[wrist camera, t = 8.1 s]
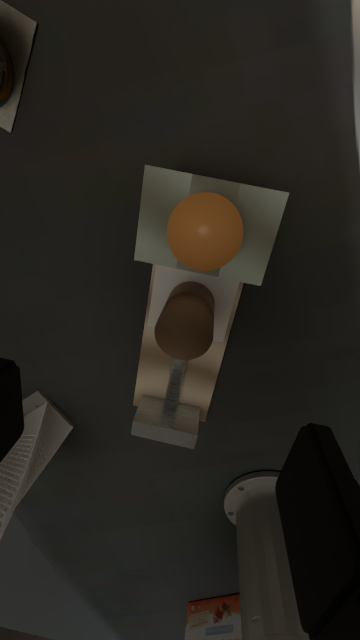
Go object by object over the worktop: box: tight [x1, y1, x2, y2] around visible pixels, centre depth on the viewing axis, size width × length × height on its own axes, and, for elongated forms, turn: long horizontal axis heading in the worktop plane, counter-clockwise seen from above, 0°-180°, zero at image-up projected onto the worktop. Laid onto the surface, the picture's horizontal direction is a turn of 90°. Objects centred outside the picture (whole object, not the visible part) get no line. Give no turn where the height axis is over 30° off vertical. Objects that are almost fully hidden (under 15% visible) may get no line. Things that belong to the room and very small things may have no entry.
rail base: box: [131, 165, 289, 449], centre depth 28 cm, size 26×9×10 cm, turn 170°
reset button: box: [167, 192, 243, 271], centre depth 18 cm, size 4×4×3 cm
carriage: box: [147, 264, 239, 360], centre depth 24 cm, size 6×7×10 cm
